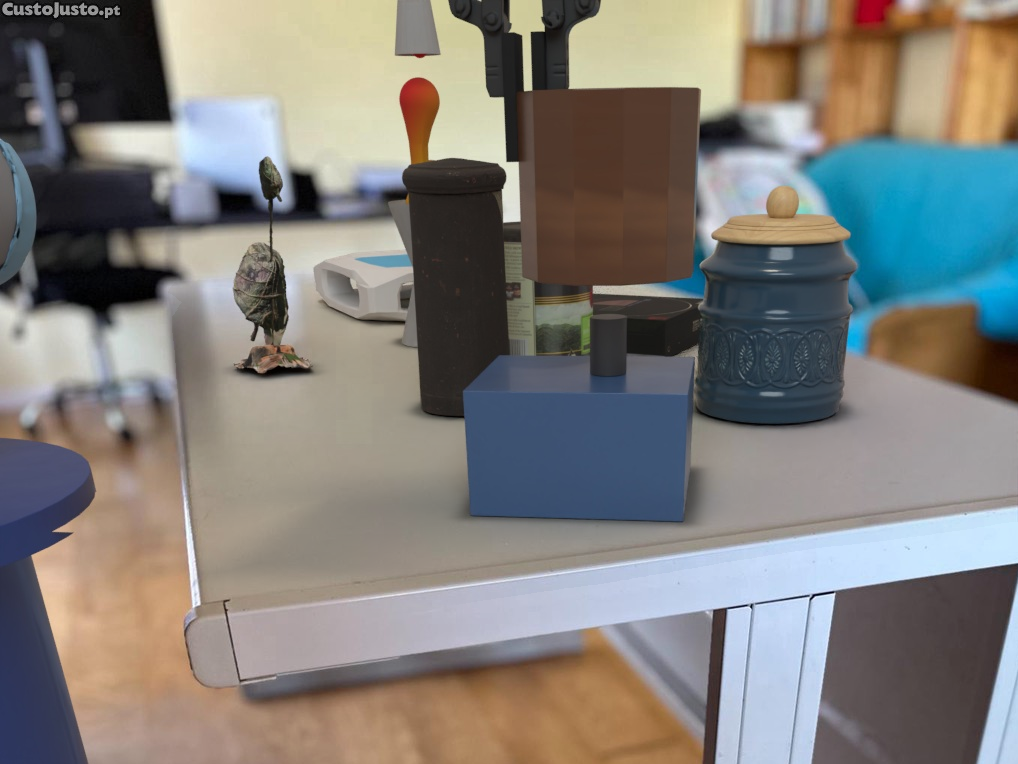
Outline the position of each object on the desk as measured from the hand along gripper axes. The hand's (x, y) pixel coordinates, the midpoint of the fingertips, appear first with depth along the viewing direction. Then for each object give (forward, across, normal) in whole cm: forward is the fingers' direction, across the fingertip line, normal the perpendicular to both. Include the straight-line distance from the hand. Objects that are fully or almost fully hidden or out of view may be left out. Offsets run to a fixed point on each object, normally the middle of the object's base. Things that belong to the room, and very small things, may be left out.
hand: (530, 160), depth 66 cm
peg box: (+20, -3, 0) cm, 21 cm away
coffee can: (+21, +6, -38) cm, 44 cm away
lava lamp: (+21, +22, -59) cm, 66 cm away
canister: (+21, -16, -26) cm, 37 cm away
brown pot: (+6, -5, 0) cm, 8 cm away
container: (+21, +11, -25) cm, 34 cm away
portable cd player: (+21, 0, -59) cm, 63 cm away
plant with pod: (+21, +36, -42) cm, 59 cm away
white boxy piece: (+21, +32, -86) cm, 94 cm away
